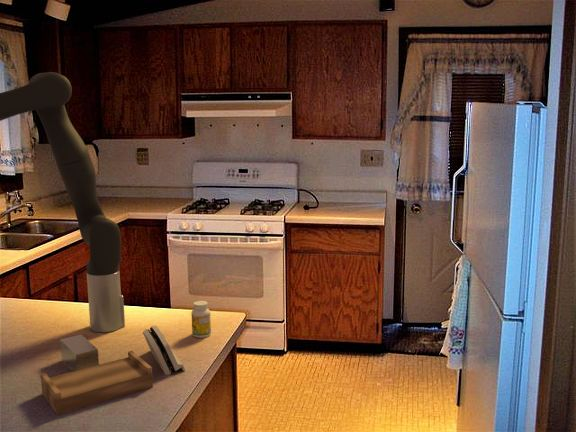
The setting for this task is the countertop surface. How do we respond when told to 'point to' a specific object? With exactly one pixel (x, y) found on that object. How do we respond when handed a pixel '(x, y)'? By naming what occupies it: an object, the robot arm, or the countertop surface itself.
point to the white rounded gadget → (162, 350)
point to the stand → (96, 383)
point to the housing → (78, 353)
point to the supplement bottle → (201, 320)
